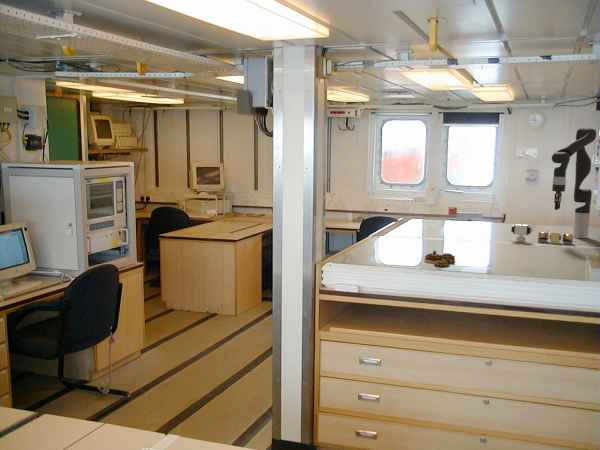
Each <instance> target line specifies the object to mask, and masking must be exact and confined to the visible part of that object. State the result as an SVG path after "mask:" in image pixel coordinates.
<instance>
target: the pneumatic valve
mask: <svg viewBox="0 0 600 450" xmlns="http://www.w3.org/2000/svg"><path fill="white" fill-rule="evenodd" d="M532 230H533V227H532V226H530V225H529V224H523V223H519V224H518V223H517V224H516V223H515V224H513V225H512V226H511V230H510V231H511V233H513V235H517V236H516V241H517V242H518V243H524V242H526V237H525V236H529V235H530V234H532V232H533V231H532Z"/></svg>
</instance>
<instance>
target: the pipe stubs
mask: <svg viewBox="0 0 600 450" xmlns="http://www.w3.org/2000/svg"><path fill="white" fill-rule="evenodd" d="M549 233H550V232H549V231H548V230H547V232H545V231H544V232H543V231H539V232H538V236H537V243H542V242H546V243H548V241H549V238H550V234H549ZM573 241H574V237H573V234H571V233H565V232H562V237H561V242H562V243H563V245H567V246H568V245H569V246H572V245H573V243H574V242H573Z"/></svg>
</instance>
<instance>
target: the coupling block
mask: <svg viewBox="0 0 600 450" xmlns="http://www.w3.org/2000/svg"><path fill="white" fill-rule="evenodd" d="M549 240H550V243H549V244H555V245H559V244H560V243H561V241H562V235H561V232H560V231H551V232H550V234H549Z"/></svg>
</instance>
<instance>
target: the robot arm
mask: <svg viewBox="0 0 600 450" xmlns="http://www.w3.org/2000/svg"><path fill="white" fill-rule="evenodd" d="M596 138H597V131H596V129H594V128H588V127H579V128H578V129H577V130H576V133H575V140H573V141H570V143H568V144H566V146H564V147H563V148H561V149H558V150H556V151H555V152H554V153H553V154H552V156H551V161H552V163H553V164H560V165H559V166H556V167H555V168H554V169H553V179H552V185H551V187H552V188H551V190H552V192H555V193H554V199H553V200H554V211H557V210H560V209H561V202H562V197H563V192H565V191H566V183H567V180H566V176H567V175H566V174H567V169H568V166H569V162H570V159H571V157H572V156H573V155H574V154H575V153H576V158H575V181H574V191H573V201H574V203H580V204H583V203H584V205H582V206H578V207H576V208H575V209H574V221H573V232H572V233H573V238H576V239H589V231H590V230H589V228H590V214H591V202H592V190H591V189H589V188H587V189H585V188H580V187H581V186H582V184H583V182H584V180H586V178H587V177H588V175H589V174H590V173H591V169H592V160H591V158H590V156H589V154H588V153H587V151H586V148H585V147H586V146H587V145H590V144H592V143H593V142H594V141H595V139H596Z"/></svg>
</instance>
